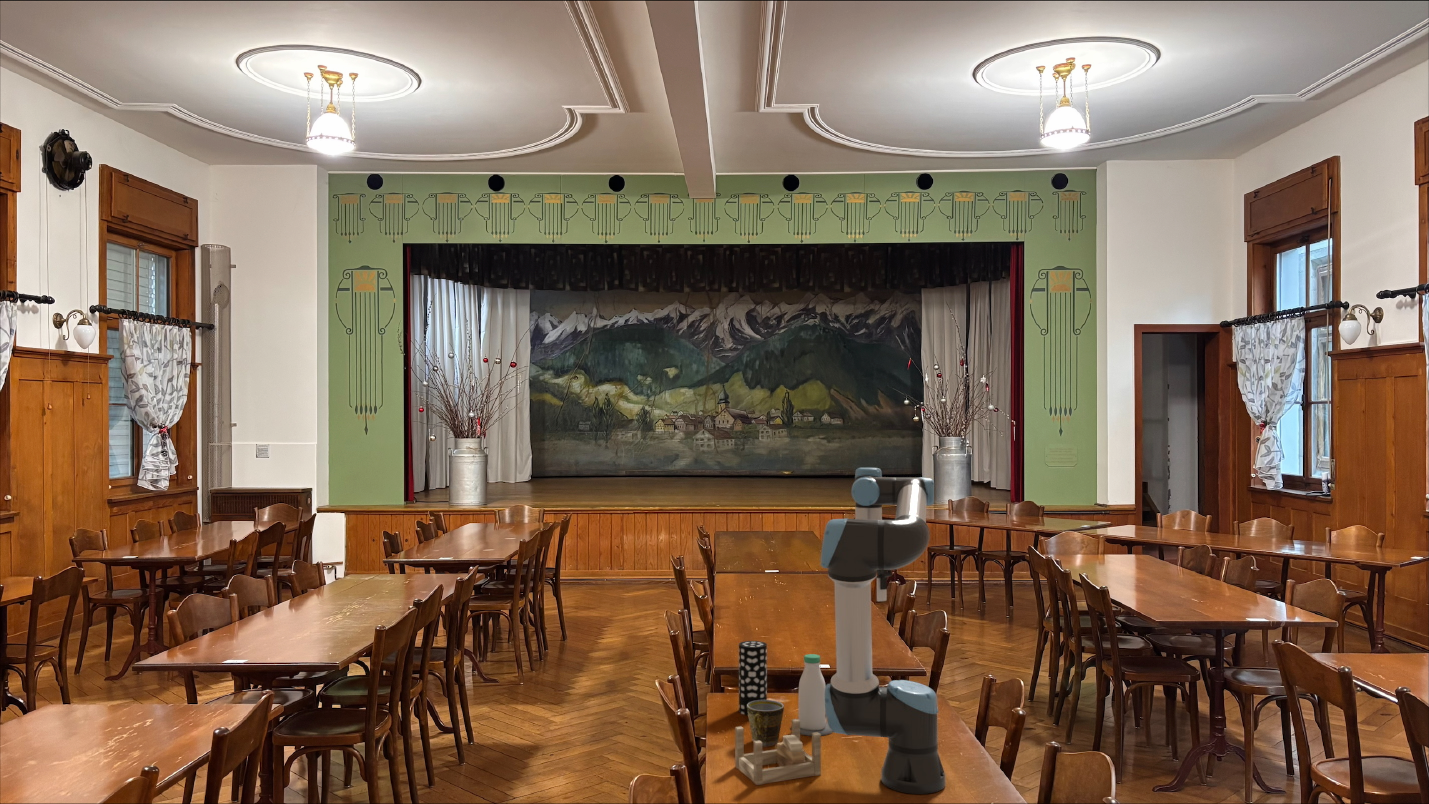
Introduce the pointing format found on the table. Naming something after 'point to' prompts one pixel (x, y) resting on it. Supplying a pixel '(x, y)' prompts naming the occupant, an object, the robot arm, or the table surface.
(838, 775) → the table surface
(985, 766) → the table surface
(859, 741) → the table surface
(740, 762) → the rack
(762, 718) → the ceramic cup
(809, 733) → the grey round disc
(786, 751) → the offcut stack
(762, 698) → the spotted tube
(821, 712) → the milk bottle
